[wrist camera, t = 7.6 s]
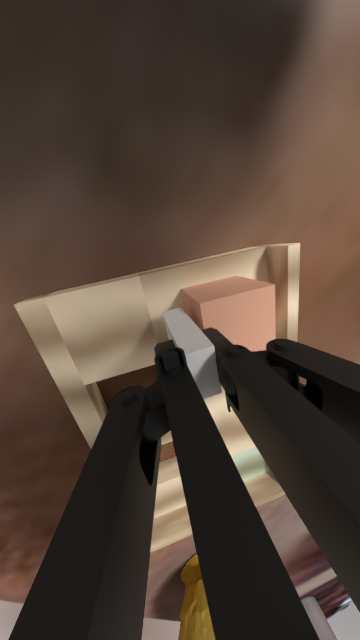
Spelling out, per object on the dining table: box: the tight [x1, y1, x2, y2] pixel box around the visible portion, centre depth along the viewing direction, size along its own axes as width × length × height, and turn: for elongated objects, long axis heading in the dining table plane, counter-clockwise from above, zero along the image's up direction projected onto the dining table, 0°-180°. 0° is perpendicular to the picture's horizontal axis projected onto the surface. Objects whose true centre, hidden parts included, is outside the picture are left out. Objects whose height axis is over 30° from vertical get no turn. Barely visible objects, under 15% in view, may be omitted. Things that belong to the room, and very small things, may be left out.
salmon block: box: [181, 276, 276, 352], centre depth 15 cm, size 5×5×5 cm
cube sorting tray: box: [14, 243, 300, 553], centre depth 21 cm, size 31×21×5 cm
